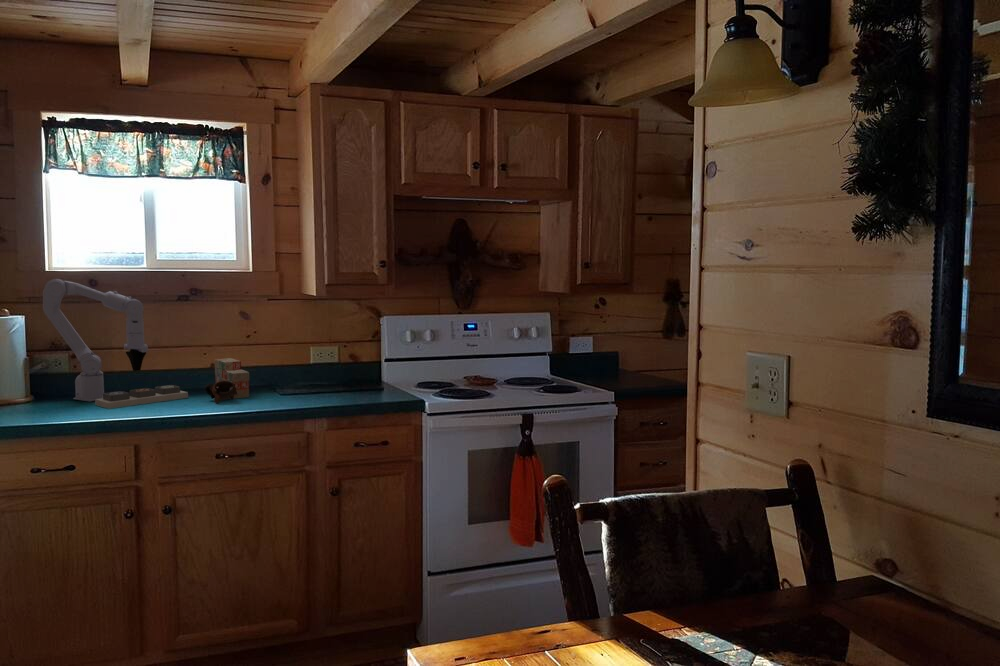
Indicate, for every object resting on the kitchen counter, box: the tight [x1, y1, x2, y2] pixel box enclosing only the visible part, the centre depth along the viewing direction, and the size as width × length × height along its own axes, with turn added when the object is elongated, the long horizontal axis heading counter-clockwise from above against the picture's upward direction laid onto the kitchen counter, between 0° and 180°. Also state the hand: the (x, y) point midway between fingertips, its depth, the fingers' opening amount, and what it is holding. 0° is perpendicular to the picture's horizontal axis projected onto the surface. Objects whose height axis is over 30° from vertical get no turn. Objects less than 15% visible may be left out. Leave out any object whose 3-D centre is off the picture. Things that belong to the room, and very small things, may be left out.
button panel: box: [94, 384, 189, 410], centre depth 278 cm, size 28×10×4 cm, turn 139°
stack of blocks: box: [214, 357, 250, 399], centre depth 294 cm, size 21×6×12 cm, turn 35°
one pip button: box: [161, 385, 174, 389], centre depth 285 cm, size 4×4×2 cm
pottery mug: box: [204, 381, 237, 404], centre depth 279 cm, size 12×10×8 cm
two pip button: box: [108, 391, 124, 395], centre depth 271 cm, size 4×4×2 cm
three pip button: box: [136, 388, 149, 392], centre depth 278 cm, size 4×4×2 cm
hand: (136, 370), depth 287 cm, fingers closed
